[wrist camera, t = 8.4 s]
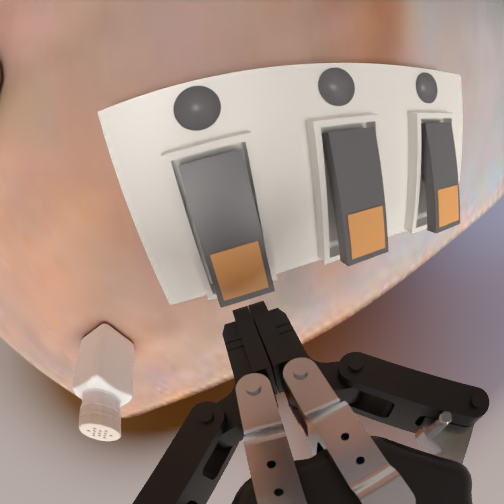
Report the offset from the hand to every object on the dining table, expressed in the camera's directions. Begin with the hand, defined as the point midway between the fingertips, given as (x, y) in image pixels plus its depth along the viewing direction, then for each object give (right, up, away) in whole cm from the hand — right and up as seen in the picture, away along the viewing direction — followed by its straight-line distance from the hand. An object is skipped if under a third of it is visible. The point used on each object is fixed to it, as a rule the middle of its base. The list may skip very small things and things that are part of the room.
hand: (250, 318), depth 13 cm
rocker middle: (+6, +6, +3) cm, 10 cm away
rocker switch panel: (+5, +10, +6) cm, 13 cm away
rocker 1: (-1, +4, +2) cm, 5 cm away
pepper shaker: (-13, -5, +10) cm, 17 cm away
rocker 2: (+14, +9, +4) cm, 17 cm away
